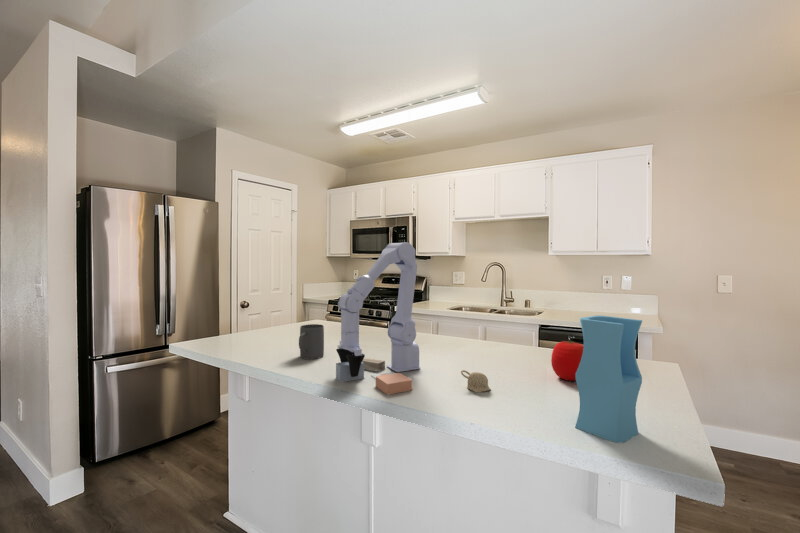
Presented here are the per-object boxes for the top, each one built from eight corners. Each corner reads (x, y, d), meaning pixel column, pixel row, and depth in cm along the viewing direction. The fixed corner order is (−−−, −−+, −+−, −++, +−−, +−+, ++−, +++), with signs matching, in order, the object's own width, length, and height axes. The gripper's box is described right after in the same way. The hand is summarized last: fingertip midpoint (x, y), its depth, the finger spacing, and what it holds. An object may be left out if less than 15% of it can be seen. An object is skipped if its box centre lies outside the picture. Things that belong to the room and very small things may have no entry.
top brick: (359, 375, 126) (359, 360, 125) (363, 378, 122) (363, 363, 122) (336, 378, 122) (336, 363, 122) (340, 382, 118) (340, 366, 118)
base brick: (399, 382, 118) (399, 372, 118) (411, 390, 111) (412, 379, 111) (375, 386, 114) (375, 376, 114) (387, 394, 107) (387, 384, 107)
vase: (620, 444, 79) (622, 324, 78) (574, 427, 87) (576, 318, 86) (641, 432, 84) (642, 320, 84) (596, 417, 92) (598, 314, 92)
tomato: (554, 371, 130) (554, 335, 130) (592, 377, 124) (592, 339, 124) (547, 381, 119) (548, 341, 119) (588, 388, 113) (589, 346, 113)
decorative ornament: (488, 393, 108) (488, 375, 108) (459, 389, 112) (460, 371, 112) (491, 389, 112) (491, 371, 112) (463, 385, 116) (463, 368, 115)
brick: (366, 366, 137) (366, 357, 137) (384, 369, 133) (385, 360, 133) (359, 368, 134) (359, 360, 133) (378, 372, 130) (378, 363, 130)
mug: (307, 353, 155) (307, 323, 154) (328, 354, 152) (328, 324, 152) (288, 361, 142) (288, 329, 141) (310, 363, 139) (310, 330, 139)
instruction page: (392, 372, 128) (392, 371, 128) (401, 377, 123) (401, 376, 123) (371, 375, 124) (371, 374, 124) (379, 381, 119) (379, 380, 119)
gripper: (330, 328, 126) (330, 369, 126) (346, 336, 113) (346, 381, 114) (350, 326, 129) (350, 366, 130) (367, 334, 117) (367, 377, 117)
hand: (350, 373), depth 122 cm, fingers open, 7 cm apart
